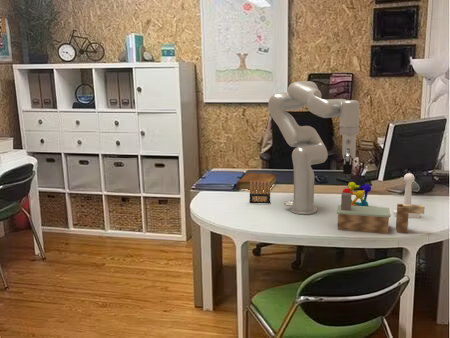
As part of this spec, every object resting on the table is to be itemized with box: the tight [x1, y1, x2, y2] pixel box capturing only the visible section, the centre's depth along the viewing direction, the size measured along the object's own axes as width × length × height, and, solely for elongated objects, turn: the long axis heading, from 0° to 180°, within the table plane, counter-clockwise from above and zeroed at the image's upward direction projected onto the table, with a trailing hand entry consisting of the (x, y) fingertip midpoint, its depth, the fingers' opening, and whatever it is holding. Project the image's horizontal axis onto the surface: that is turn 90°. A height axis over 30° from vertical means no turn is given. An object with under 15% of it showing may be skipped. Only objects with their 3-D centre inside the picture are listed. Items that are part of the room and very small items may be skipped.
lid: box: [336, 192, 391, 218], centre depth 189 cm, size 21×11×7 cm, turn 73°
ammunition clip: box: [249, 181, 271, 204], centre depth 229 cm, size 11×2×12 cm, turn 84°
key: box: [402, 203, 426, 215], centre depth 184 cm, size 8×2×3 cm, turn 73°
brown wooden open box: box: [337, 203, 409, 234], centre depth 189 cm, size 28×10×11 cm, turn 73°
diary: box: [236, 172, 278, 190], centre depth 265 cm, size 23×19×6 cm
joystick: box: [392, 172, 421, 219], centre depth 205 cm, size 11×8×20 cm
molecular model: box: [341, 181, 372, 207], centre depth 218 cm, size 15×12×15 cm
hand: (347, 171), depth 189 cm, fingers open, 9 cm apart
